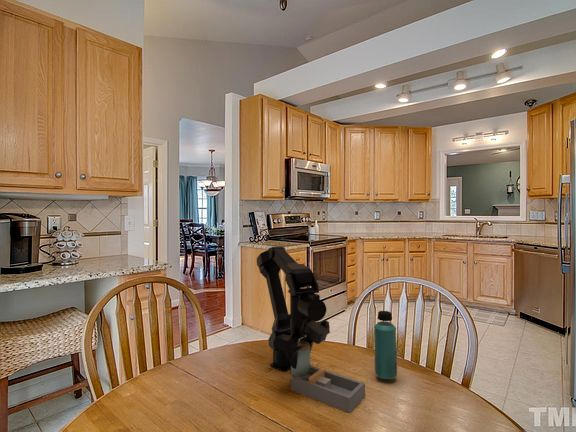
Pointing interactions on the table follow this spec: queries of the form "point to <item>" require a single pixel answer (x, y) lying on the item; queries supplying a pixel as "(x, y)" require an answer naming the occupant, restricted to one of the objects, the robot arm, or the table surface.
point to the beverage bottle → (385, 347)
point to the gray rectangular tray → (331, 390)
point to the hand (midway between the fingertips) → (300, 364)
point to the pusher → (320, 379)
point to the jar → (302, 360)
